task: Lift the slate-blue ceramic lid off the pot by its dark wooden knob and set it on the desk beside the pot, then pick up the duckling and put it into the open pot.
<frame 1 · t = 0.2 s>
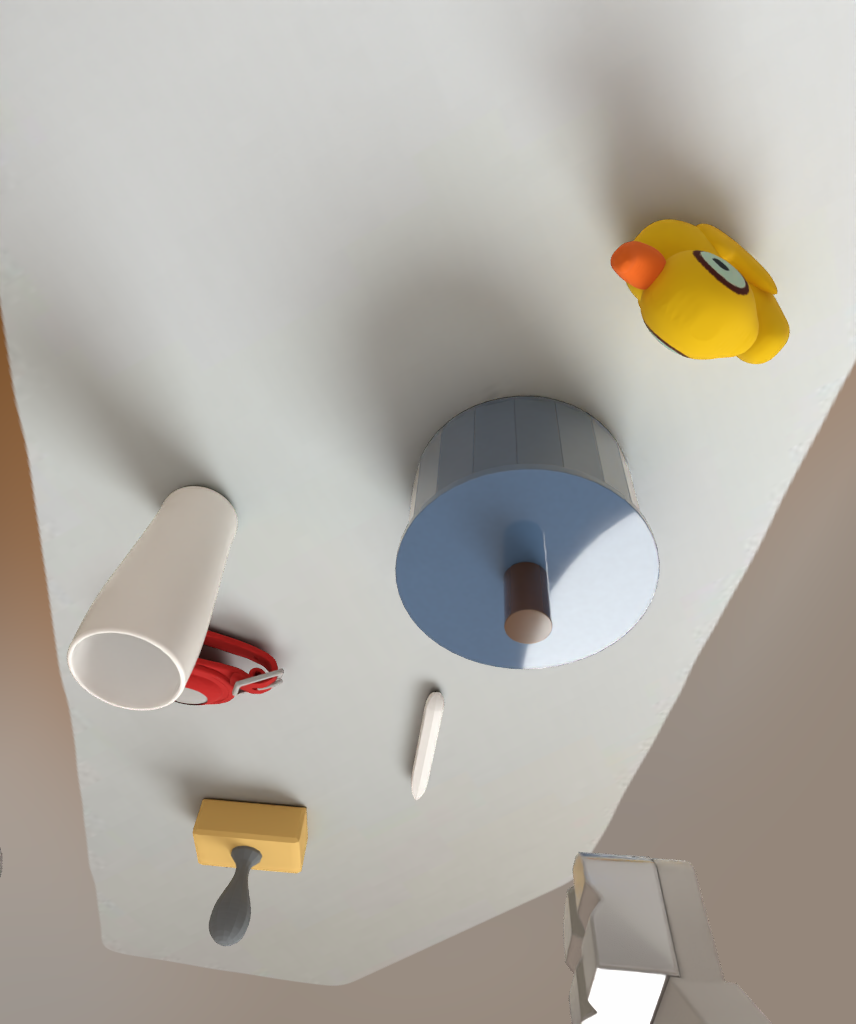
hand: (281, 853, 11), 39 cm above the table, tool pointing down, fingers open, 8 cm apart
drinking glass: (203, 511, 57), on the table
pot: (520, 489, 54), on the table
lid: (525, 572, 48), point 8 cm above the table, touching pot
tracker holder: (212, 658, 66), on the table
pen: (426, 738, 71), on the table
duckling: (680, 260, 45), on the table
rubber stamp: (256, 816, 79), on the table
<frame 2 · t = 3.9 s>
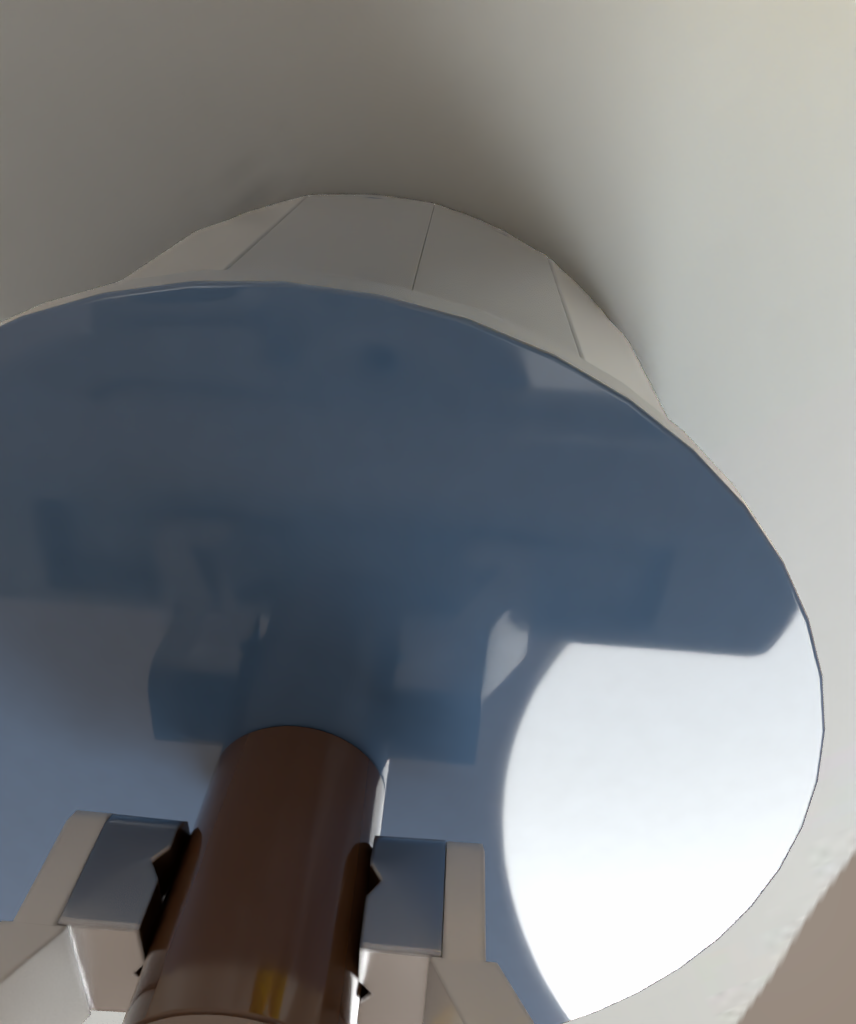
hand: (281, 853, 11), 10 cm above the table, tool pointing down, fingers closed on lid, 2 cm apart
pot: (368, 496, 20), on the table
lid: (306, 756, 13), point 8 cm above the table, touching gripper, pot
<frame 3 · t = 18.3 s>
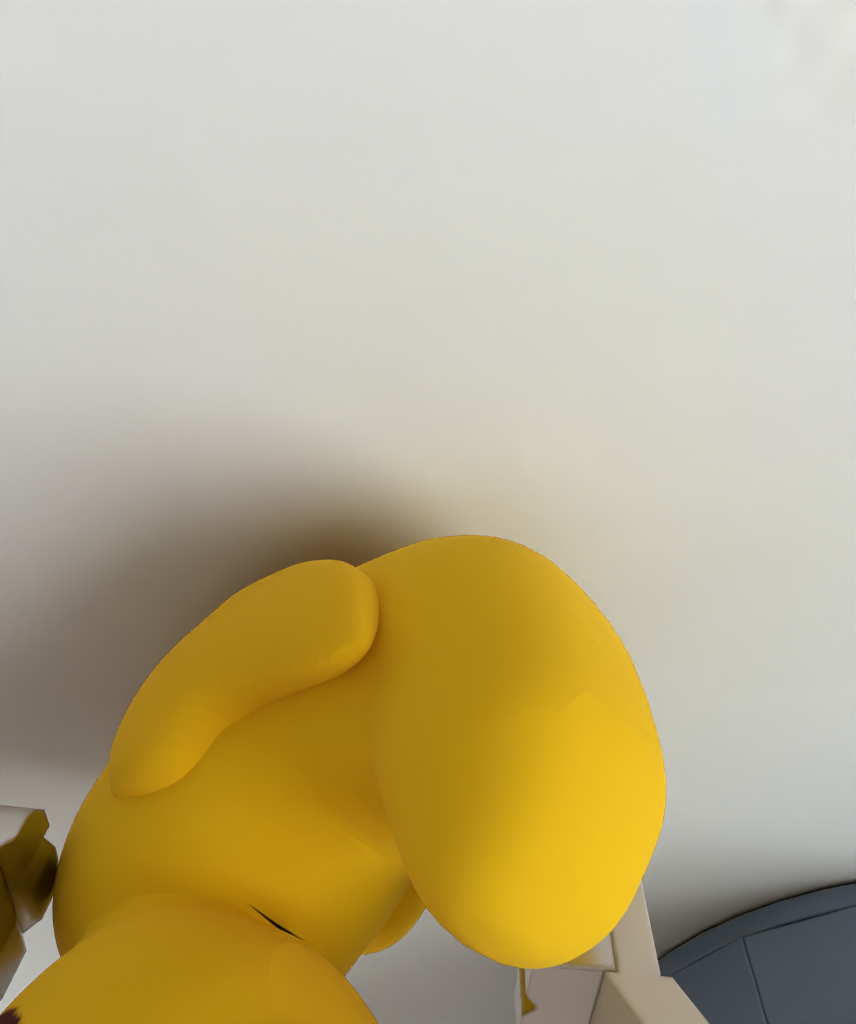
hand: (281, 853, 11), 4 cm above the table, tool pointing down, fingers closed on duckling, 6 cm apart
duckling: (331, 658, 14), on the table, touching gripper
when the fingers open (5 cm above the table, at t = 27.2 s): duckling stays where it is, resting on pot.
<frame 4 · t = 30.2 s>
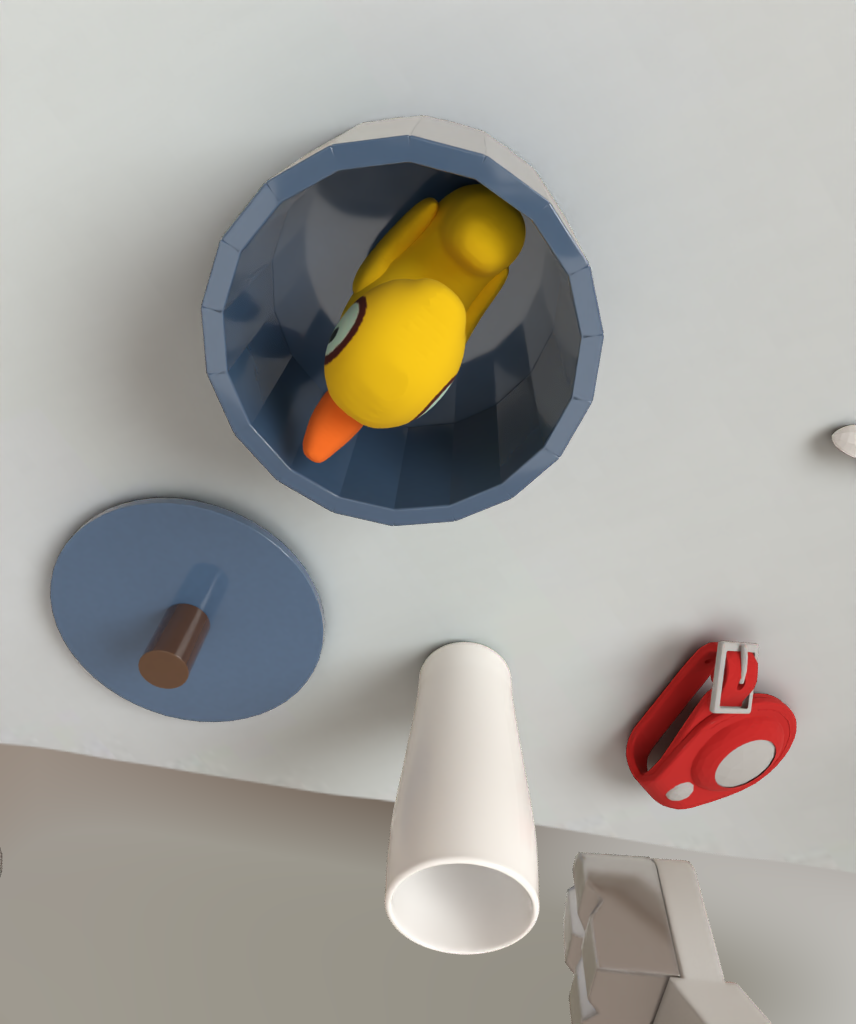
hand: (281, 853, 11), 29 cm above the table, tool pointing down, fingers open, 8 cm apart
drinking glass: (465, 670, 48), on the table
pot: (415, 291, 36), on the table
lid: (190, 615, 46), point 1 cm above the table
tracker holder: (717, 702, 48), on the table
duckling: (421, 282, 36), resting on pot
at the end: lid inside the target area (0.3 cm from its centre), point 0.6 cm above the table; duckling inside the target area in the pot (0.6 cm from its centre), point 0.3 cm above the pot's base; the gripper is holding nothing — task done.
